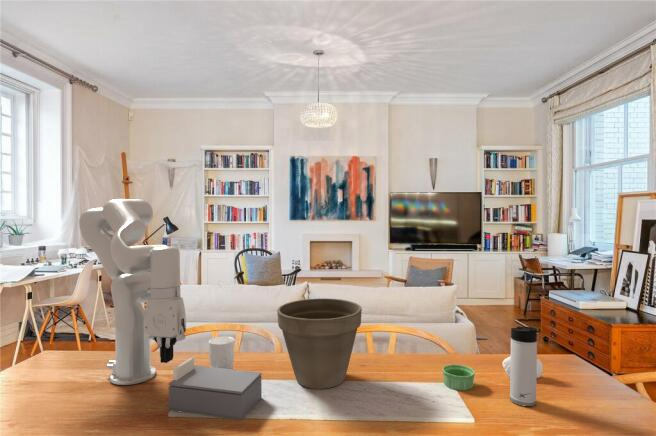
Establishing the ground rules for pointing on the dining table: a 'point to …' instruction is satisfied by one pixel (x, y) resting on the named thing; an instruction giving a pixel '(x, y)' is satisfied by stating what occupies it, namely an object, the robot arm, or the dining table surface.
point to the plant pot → (319, 339)
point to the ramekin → (458, 377)
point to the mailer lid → (212, 378)
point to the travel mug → (523, 365)
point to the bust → (507, 367)
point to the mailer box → (215, 401)
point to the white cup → (221, 352)
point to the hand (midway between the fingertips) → (166, 361)
